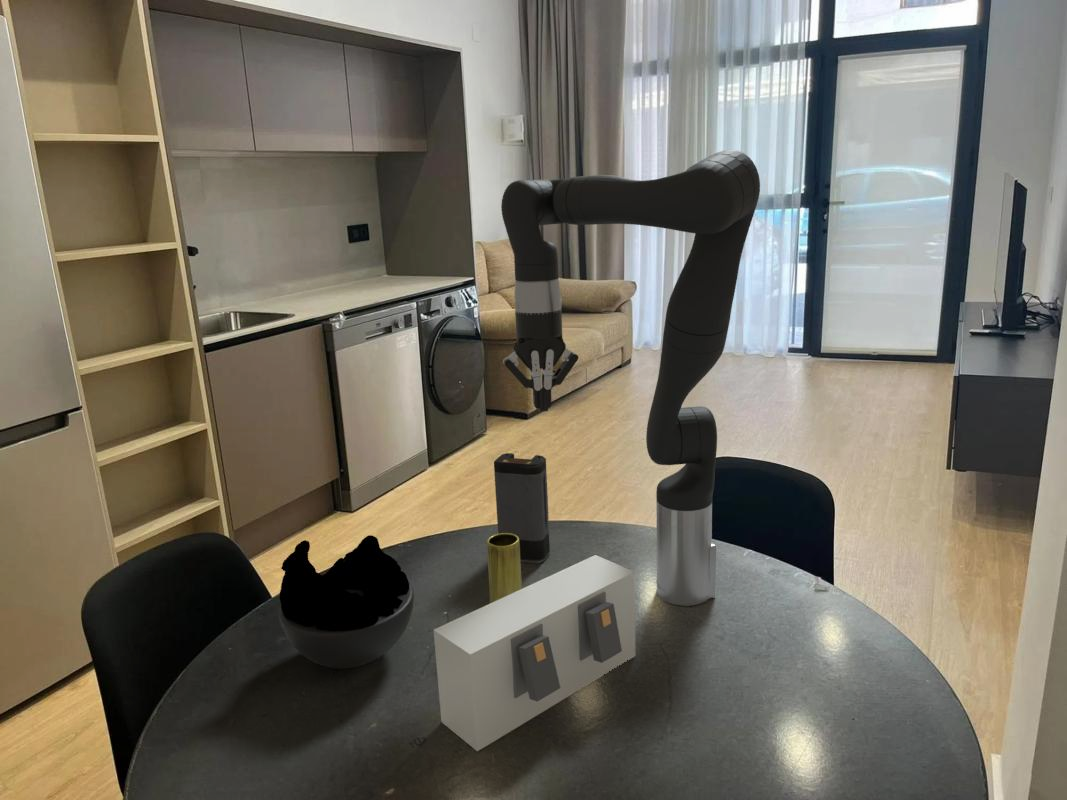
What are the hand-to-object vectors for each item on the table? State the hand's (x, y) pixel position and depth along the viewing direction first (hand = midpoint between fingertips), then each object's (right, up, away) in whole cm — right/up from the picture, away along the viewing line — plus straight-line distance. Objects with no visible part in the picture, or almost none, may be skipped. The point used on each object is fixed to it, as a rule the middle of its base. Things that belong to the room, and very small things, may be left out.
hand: (542, 410), depth 132 cm
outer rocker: (0, -36, -30) cm, 47 cm away
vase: (-6, -35, -1) cm, 35 cm away
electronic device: (-3, -29, +22) cm, 36 cm away
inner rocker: (+9, -34, -22) cm, 42 cm away
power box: (0, -39, -19) cm, 44 cm away
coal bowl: (-29, -38, -10) cm, 49 cm away
